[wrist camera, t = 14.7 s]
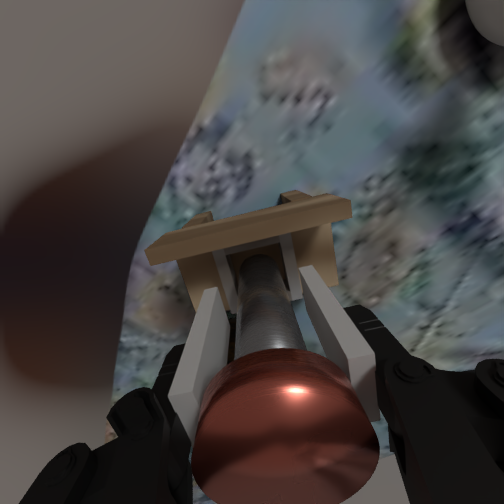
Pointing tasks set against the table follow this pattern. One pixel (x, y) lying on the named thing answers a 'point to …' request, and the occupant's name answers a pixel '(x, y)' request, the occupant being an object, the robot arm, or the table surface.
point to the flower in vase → (488, 18)
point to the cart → (255, 245)
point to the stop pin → (279, 411)
